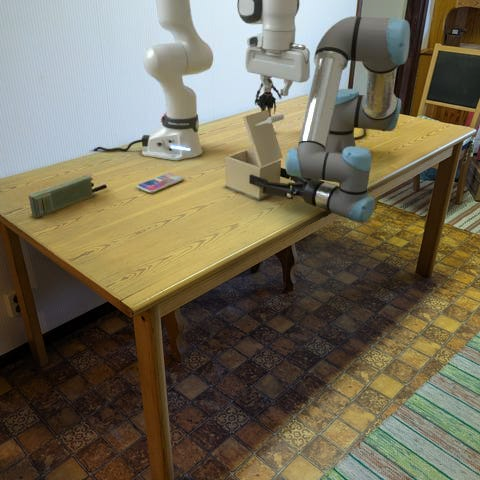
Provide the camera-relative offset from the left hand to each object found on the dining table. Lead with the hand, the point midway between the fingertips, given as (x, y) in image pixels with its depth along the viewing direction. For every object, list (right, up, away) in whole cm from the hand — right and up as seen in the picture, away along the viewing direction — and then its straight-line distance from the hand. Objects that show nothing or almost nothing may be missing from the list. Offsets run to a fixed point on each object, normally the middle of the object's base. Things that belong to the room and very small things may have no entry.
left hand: (275, 93), depth 142 cm
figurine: (+1, +3, +70) cm, 70 cm away
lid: (-3, -11, +10) cm, 15 cm away
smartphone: (-36, -23, +23) cm, 48 cm away
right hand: (-3, -21, +15) cm, 26 cm away
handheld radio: (-60, -30, +9) cm, 68 cm away
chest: (-6, -25, +20) cm, 32 cm away
